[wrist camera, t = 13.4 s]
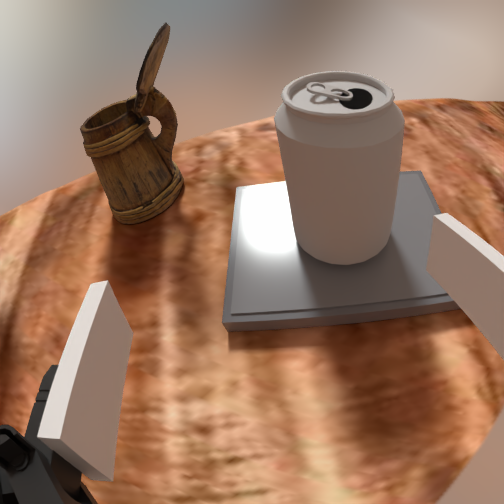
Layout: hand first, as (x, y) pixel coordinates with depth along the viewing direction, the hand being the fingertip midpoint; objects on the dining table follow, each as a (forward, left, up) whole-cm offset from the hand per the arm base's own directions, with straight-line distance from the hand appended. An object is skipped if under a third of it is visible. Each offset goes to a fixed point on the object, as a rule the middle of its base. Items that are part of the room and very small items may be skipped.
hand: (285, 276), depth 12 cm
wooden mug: (-14, +20, -11) cm, 27 cm away
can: (+4, +10, -9) cm, 14 cm away
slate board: (+4, +10, -11) cm, 15 cm away
